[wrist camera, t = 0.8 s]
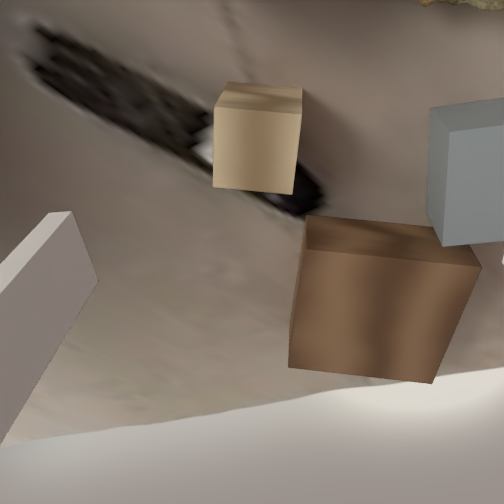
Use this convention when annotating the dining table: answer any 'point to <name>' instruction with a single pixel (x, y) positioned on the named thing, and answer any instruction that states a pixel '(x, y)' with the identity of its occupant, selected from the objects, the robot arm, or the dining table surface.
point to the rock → (472, 3)
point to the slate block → (467, 172)
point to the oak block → (256, 137)
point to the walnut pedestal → (377, 298)
